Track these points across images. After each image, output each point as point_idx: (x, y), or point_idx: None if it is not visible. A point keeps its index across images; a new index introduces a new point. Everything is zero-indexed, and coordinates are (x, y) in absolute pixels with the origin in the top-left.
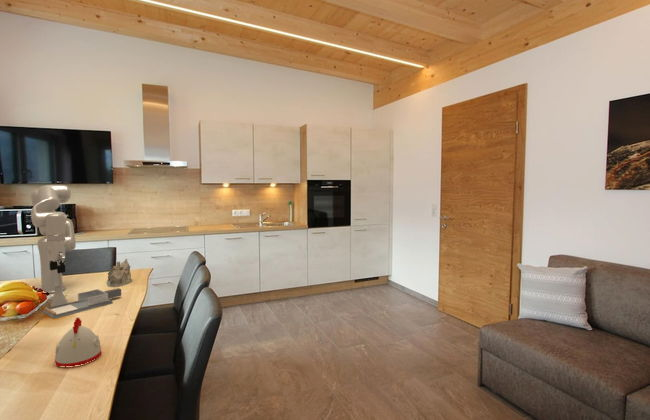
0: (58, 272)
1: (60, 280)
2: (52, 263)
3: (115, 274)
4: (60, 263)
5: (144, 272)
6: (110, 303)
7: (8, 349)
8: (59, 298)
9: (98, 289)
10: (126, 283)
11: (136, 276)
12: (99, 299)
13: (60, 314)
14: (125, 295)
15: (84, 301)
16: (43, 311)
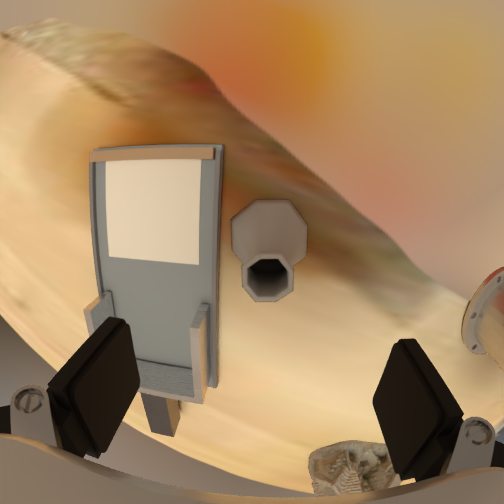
0: (107, 326)
1: (493, 355)
2: (422, 429)
3: (332, 488)
4: (1, 413)
5: None
6: None
7: (9, 32)
8: (241, 244)
9: (193, 402)
10: (309, 471)
11: None
12: None
13: (91, 177)
14: (181, 424)
15: None
16: (218, 145)
